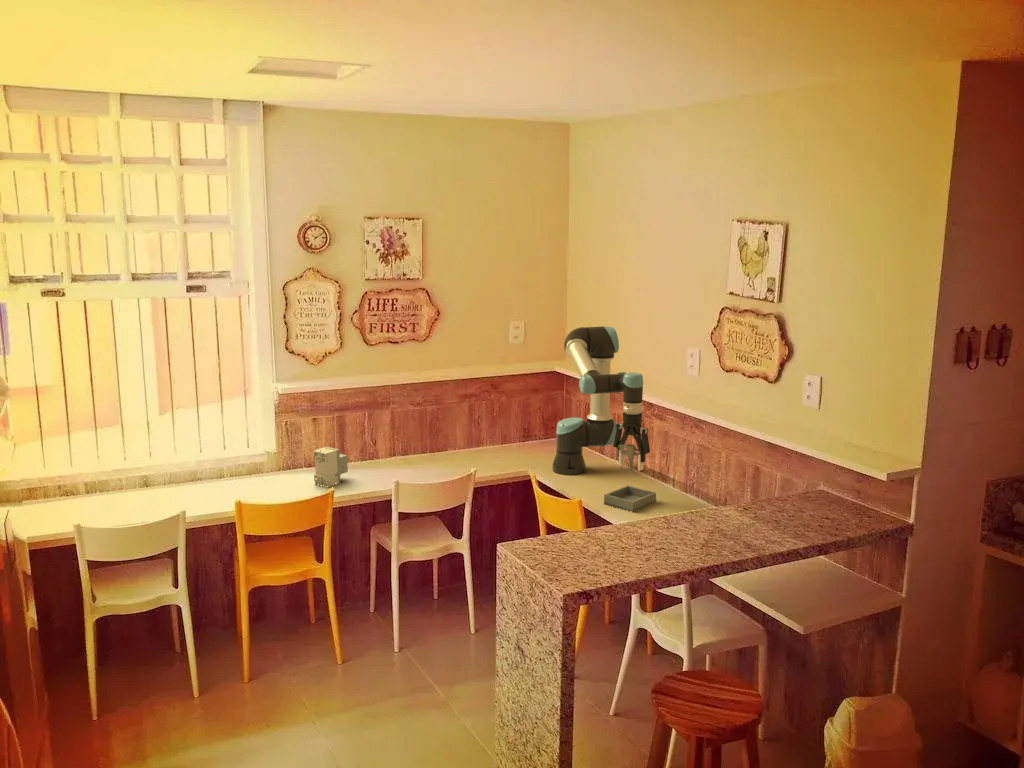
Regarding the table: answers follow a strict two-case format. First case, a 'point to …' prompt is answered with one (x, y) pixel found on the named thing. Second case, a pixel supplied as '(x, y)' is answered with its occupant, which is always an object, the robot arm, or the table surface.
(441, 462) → the table surface
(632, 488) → the parts tray
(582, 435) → the robot arm
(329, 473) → the circuit breaker
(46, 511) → the table surface
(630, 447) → the mechanical component
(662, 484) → the table surface
